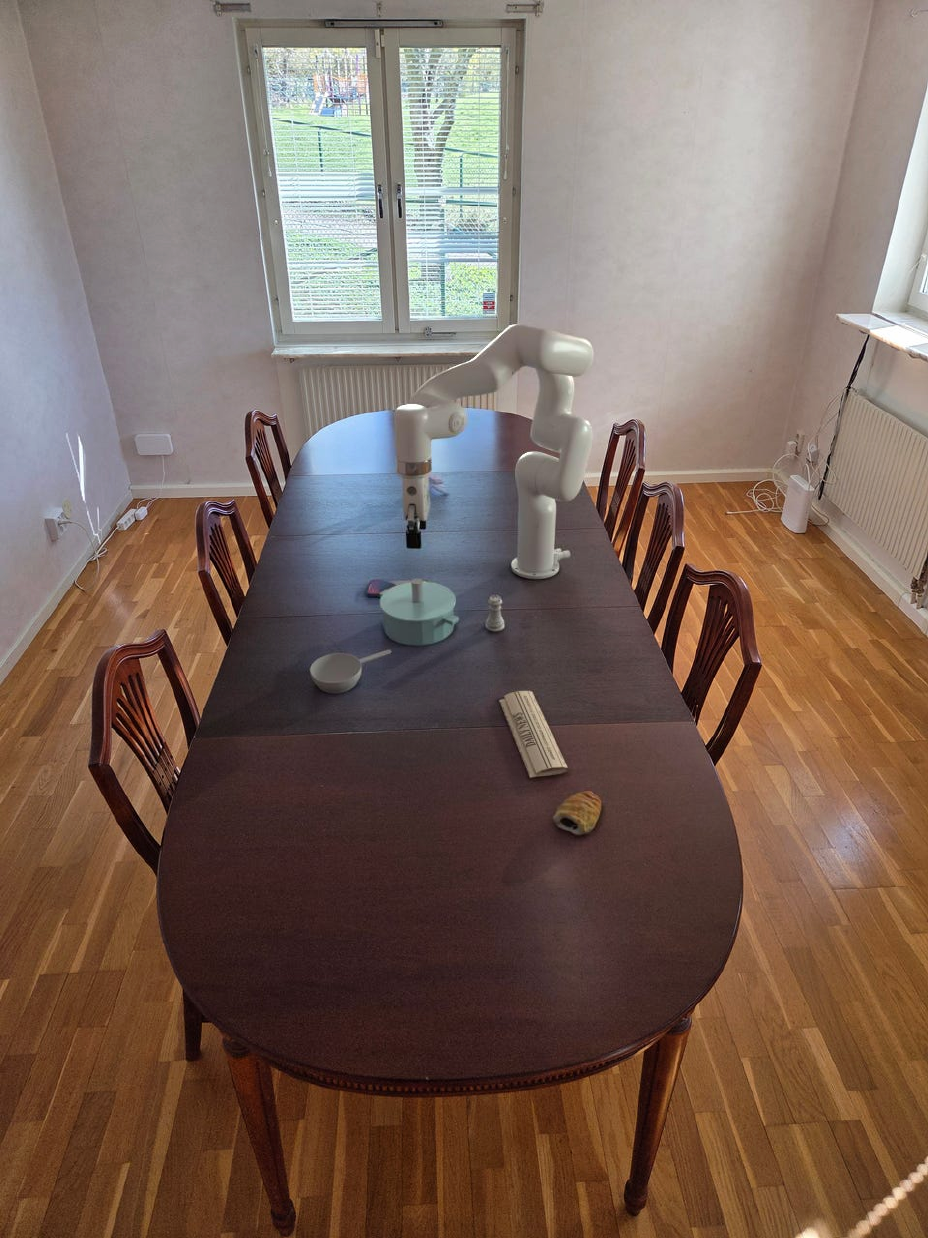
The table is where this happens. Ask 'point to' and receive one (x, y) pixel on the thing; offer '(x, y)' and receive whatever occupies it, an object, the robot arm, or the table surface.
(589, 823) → the pastry
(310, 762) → the table surface
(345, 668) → the saucepan
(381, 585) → the smartphone
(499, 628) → the rook chess piece
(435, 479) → the water lily
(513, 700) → the newspaper
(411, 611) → the lid
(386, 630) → the pot
